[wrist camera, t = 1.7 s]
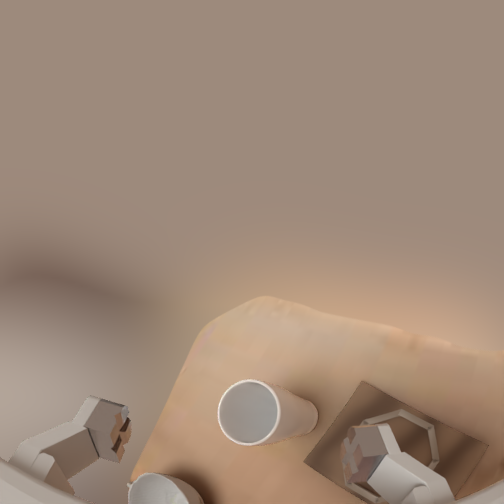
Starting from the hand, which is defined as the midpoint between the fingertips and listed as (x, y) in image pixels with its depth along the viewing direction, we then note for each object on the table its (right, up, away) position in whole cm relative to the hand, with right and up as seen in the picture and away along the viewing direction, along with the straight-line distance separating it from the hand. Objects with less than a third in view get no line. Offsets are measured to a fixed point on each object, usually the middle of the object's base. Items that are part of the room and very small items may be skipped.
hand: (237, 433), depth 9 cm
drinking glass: (+7, -16, +27) cm, 32 cm away
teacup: (-10, -33, +26) cm, 43 cm away
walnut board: (+18, -19, +18) cm, 31 cm away
